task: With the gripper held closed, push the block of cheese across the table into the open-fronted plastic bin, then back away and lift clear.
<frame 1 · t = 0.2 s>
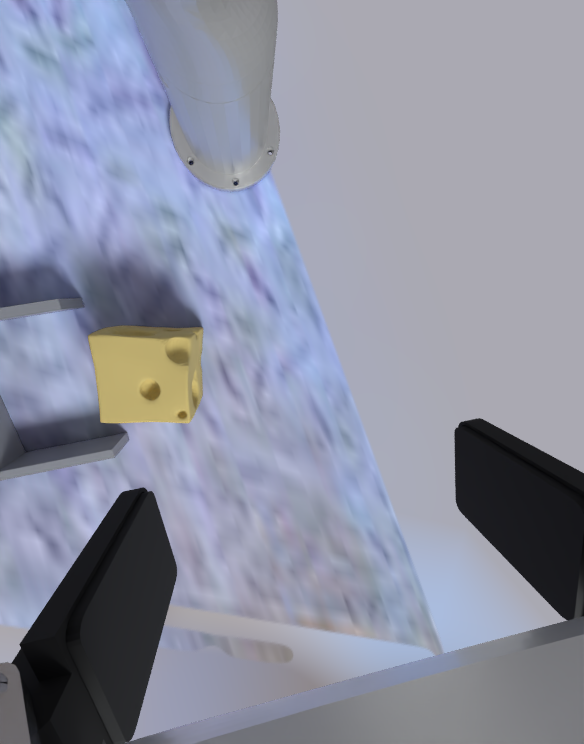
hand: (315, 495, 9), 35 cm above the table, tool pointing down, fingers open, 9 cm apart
cheese: (166, 362, 43), on the table
bin: (53, 383, 41), on the table
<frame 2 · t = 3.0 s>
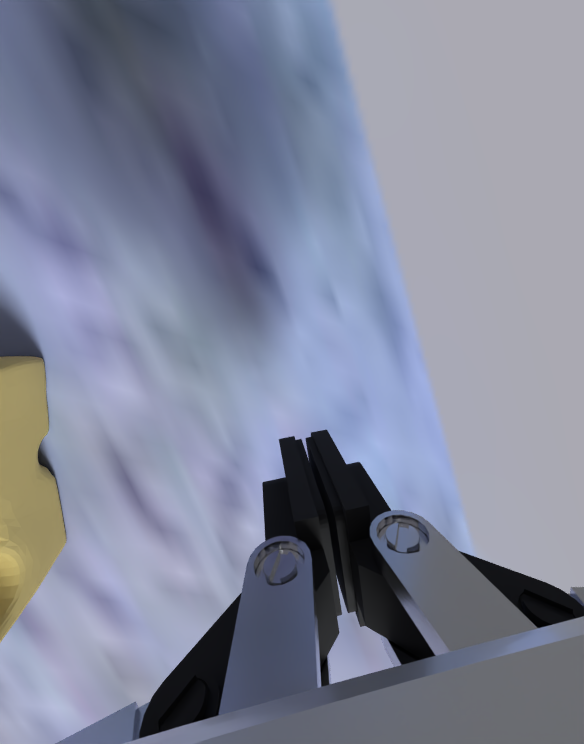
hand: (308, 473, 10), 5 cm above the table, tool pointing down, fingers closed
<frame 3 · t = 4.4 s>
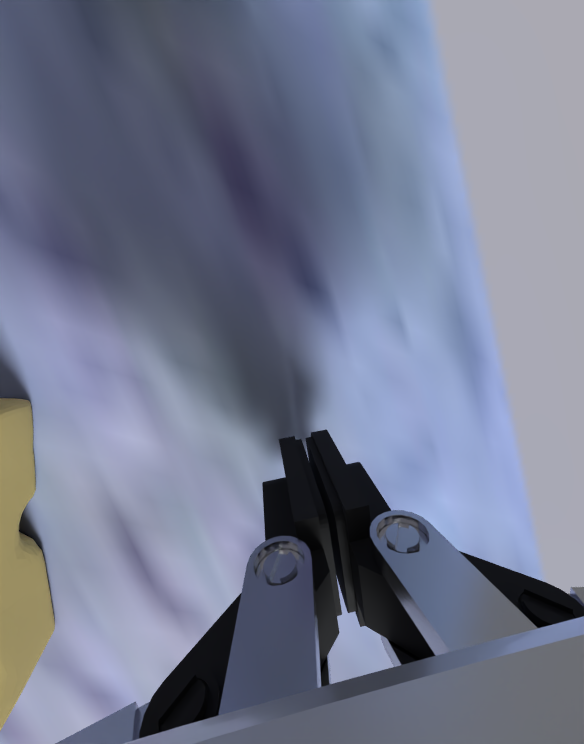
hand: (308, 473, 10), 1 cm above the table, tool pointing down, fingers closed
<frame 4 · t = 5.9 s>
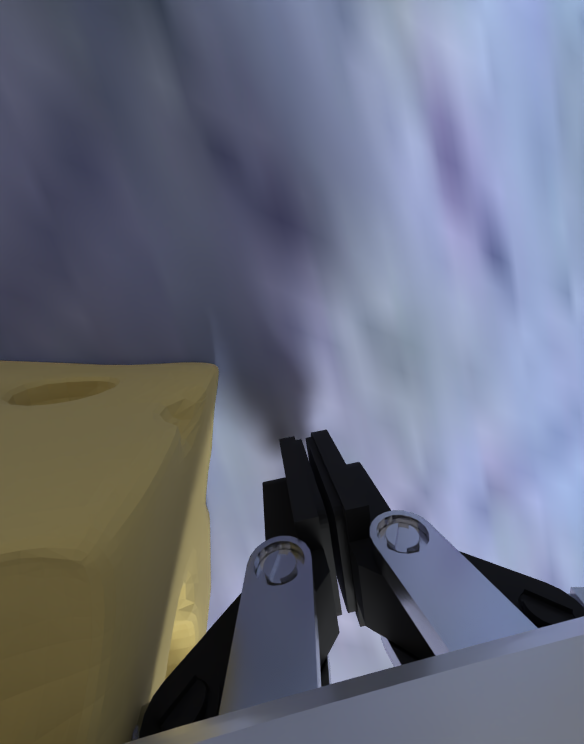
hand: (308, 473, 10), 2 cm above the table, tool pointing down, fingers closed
cheese: (78, 489, 11), on the table, touching gripper
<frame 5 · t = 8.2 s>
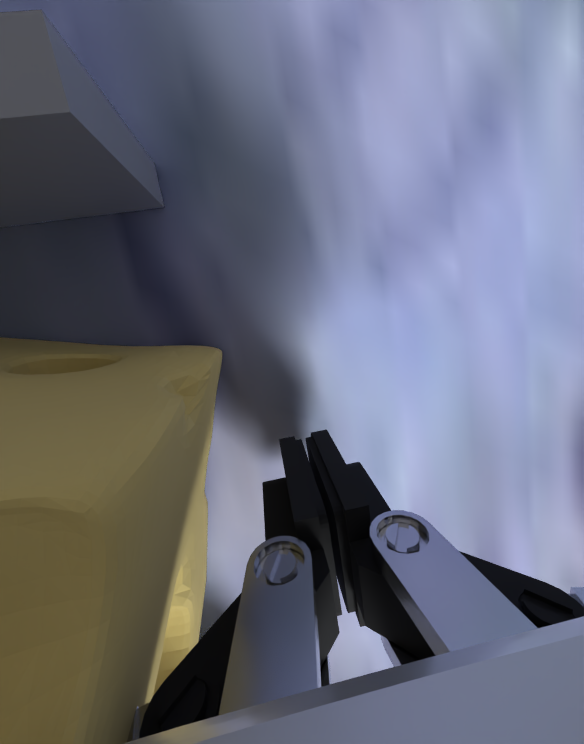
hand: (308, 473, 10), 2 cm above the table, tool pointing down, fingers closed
cheese: (75, 473, 11), on the table, touching gripper
bin: (30, 504, 11), on the table
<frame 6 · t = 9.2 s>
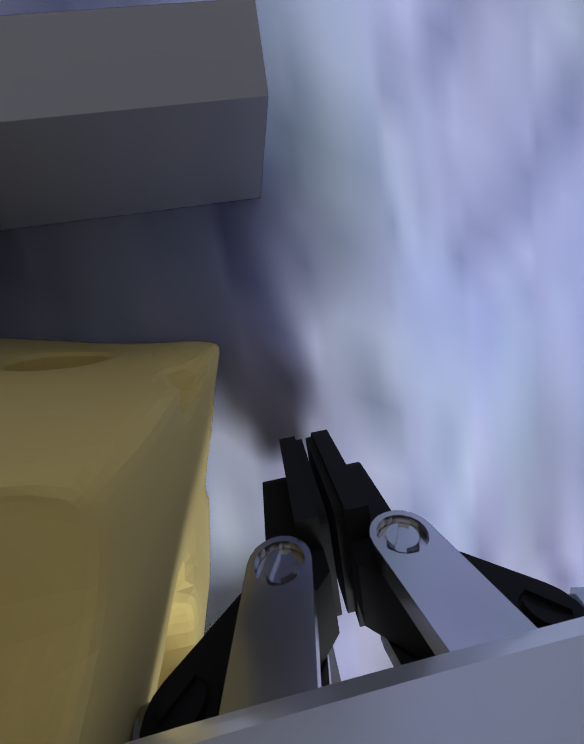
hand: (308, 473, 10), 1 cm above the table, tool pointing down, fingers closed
cheese: (75, 473, 11), on the table, touching bin, gripper
bin: (114, 490, 11), on the table
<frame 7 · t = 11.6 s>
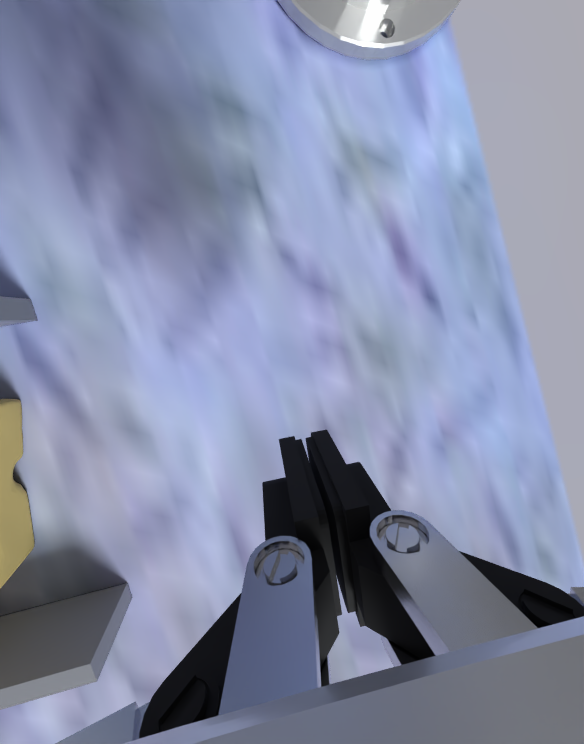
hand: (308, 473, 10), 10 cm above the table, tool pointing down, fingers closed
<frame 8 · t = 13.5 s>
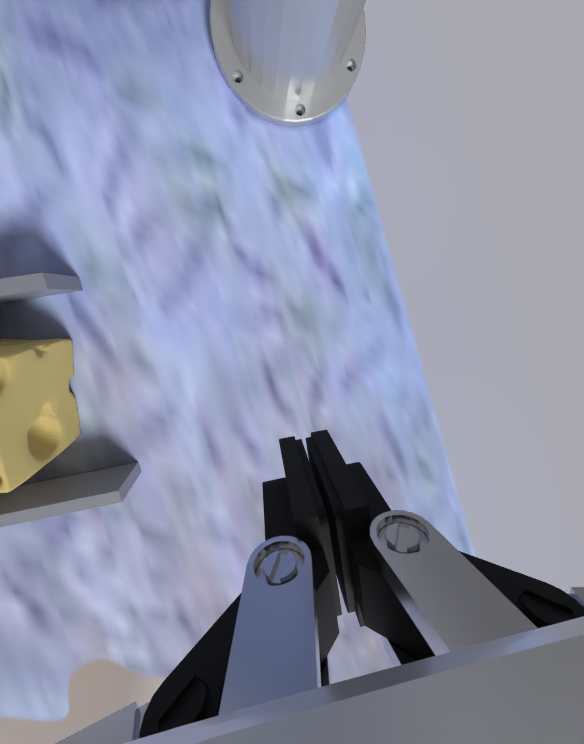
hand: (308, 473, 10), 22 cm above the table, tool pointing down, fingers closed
cheese: (24, 388, 30), on the table
bin: (38, 395, 30), on the table
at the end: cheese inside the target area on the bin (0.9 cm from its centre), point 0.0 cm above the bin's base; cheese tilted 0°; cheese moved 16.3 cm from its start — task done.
